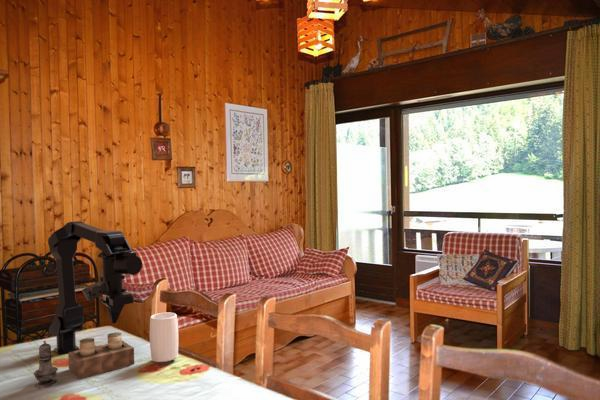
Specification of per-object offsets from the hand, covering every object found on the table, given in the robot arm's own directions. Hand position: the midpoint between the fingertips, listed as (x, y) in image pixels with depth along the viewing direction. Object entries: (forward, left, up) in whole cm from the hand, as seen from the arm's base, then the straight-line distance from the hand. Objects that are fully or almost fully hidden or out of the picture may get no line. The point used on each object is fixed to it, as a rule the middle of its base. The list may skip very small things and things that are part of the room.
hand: (114, 323), depth 141 cm
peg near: (0, -8, -8) cm, 11 cm away
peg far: (0, 0, -8) cm, 8 cm away
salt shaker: (+2, -19, -13) cm, 23 cm away
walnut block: (0, -4, -12) cm, 13 cm away
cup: (+9, +12, -13) cm, 20 cm away
